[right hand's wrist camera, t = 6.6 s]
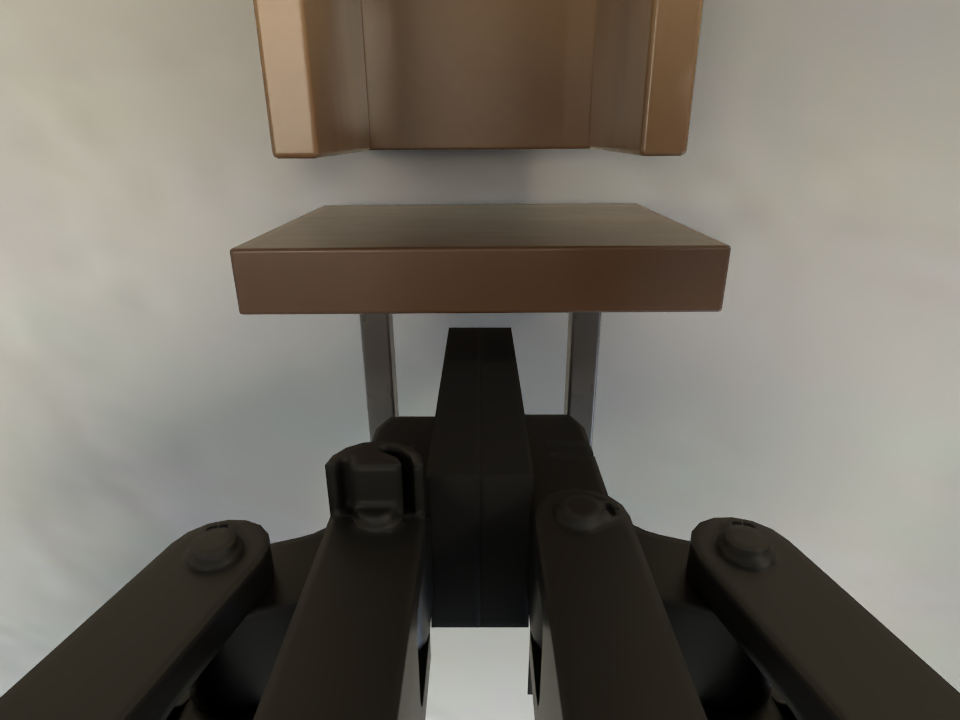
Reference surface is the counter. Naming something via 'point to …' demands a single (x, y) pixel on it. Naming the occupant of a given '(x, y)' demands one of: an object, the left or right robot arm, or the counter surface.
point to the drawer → (479, 125)
